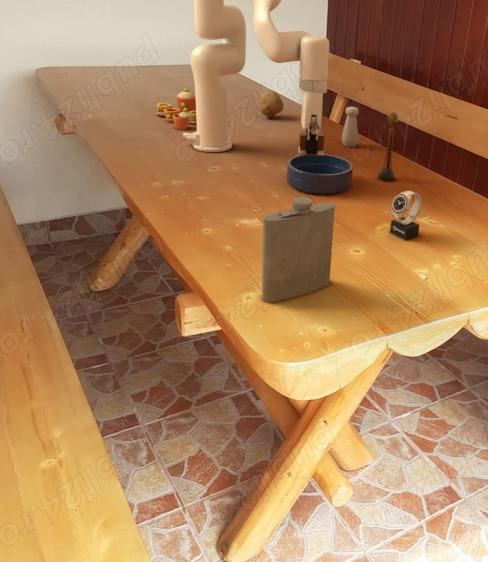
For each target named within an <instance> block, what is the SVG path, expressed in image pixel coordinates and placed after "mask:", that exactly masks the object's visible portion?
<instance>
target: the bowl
mask: <svg viewBox="0 0 488 562" xmlns="http://www.w3.org/2000/svg"><path fill="white" fill-rule="evenodd" d="M286 163H287V164H286V182H287V184H288V185H290V186H291V188H293V189H295V190H297V191H299V192H303V193H306V194H309V195H310V194H311V195H324V196H325V195H326V196H327V195H335V194H339V193H343V192H344V191H346V190H347V189H349V188H350V187H351V186H352V183H353V171H354V169H353V168H354V165H353V163H352V162H351V161H349V160H348V159H346V158H344V157H341V156H338V155H334V154H333V155H332V154H326V153H324V155H299V154H298V155H295V156H292V157H290V158H289V159H288V160H287V162H286Z"/></svg>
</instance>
